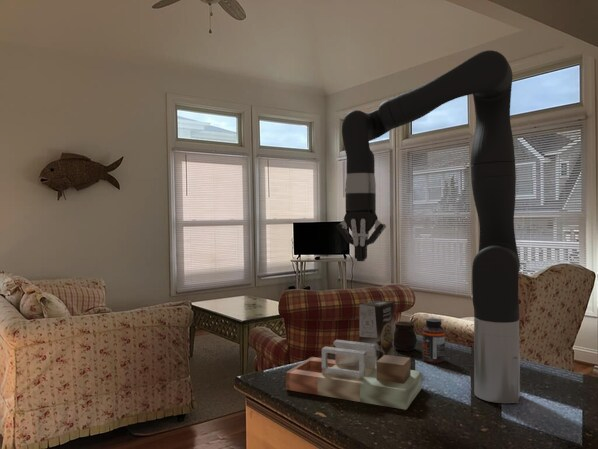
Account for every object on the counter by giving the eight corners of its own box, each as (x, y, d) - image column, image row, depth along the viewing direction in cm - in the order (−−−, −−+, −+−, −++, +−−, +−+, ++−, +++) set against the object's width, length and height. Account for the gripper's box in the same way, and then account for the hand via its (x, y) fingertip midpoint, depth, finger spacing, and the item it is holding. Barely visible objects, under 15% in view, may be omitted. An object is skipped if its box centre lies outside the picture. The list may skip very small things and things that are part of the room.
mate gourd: (395, 345, 154) (396, 313, 153) (420, 348, 150) (420, 315, 150) (388, 350, 147) (389, 317, 147) (414, 354, 144) (414, 319, 144)
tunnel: (376, 368, 117) (376, 343, 117) (363, 380, 109) (363, 353, 109) (336, 363, 121) (336, 339, 121) (321, 373, 113) (321, 348, 113)
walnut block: (410, 375, 111) (410, 357, 111) (403, 383, 106) (403, 365, 106) (384, 372, 114) (384, 354, 114) (376, 379, 109) (376, 361, 109)
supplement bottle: (418, 358, 139) (418, 318, 139) (436, 356, 141) (436, 316, 141) (430, 364, 133) (430, 322, 133) (449, 362, 135) (449, 321, 135)
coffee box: (379, 367, 131) (379, 306, 131) (358, 362, 135) (358, 303, 135) (395, 359, 139) (394, 301, 138) (374, 355, 143) (374, 299, 142)
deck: (421, 388, 115) (421, 371, 115) (406, 409, 102) (406, 390, 102) (311, 372, 127) (311, 356, 127) (285, 389, 115) (285, 372, 115)
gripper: (390, 192, 125) (390, 260, 125) (341, 193, 131) (341, 259, 131) (382, 190, 118) (382, 263, 119) (330, 192, 124) (330, 261, 124)
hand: (360, 261), depth 125 cm, fingers closed
